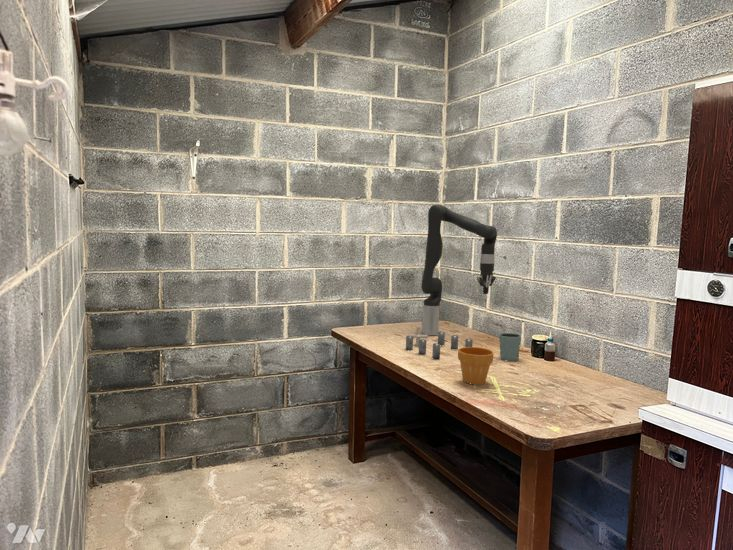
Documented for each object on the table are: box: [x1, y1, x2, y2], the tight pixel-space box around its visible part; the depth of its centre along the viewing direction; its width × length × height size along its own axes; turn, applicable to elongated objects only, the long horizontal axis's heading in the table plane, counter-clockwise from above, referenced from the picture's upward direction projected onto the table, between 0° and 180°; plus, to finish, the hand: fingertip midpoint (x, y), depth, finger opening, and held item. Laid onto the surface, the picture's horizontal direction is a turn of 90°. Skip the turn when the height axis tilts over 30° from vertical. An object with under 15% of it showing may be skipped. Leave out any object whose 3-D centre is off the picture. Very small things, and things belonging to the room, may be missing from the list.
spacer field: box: [405, 331, 474, 360], centre depth 266 cm, size 24×26×7 cm
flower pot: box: [457, 346, 494, 385], centre depth 215 cm, size 14×14×13 cm
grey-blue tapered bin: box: [498, 332, 522, 362], centre depth 254 cm, size 10×10×12 cm
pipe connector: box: [407, 326, 429, 347], centre depth 277 cm, size 10×10×10 cm
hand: (485, 293), depth 288 cm, fingers closed
